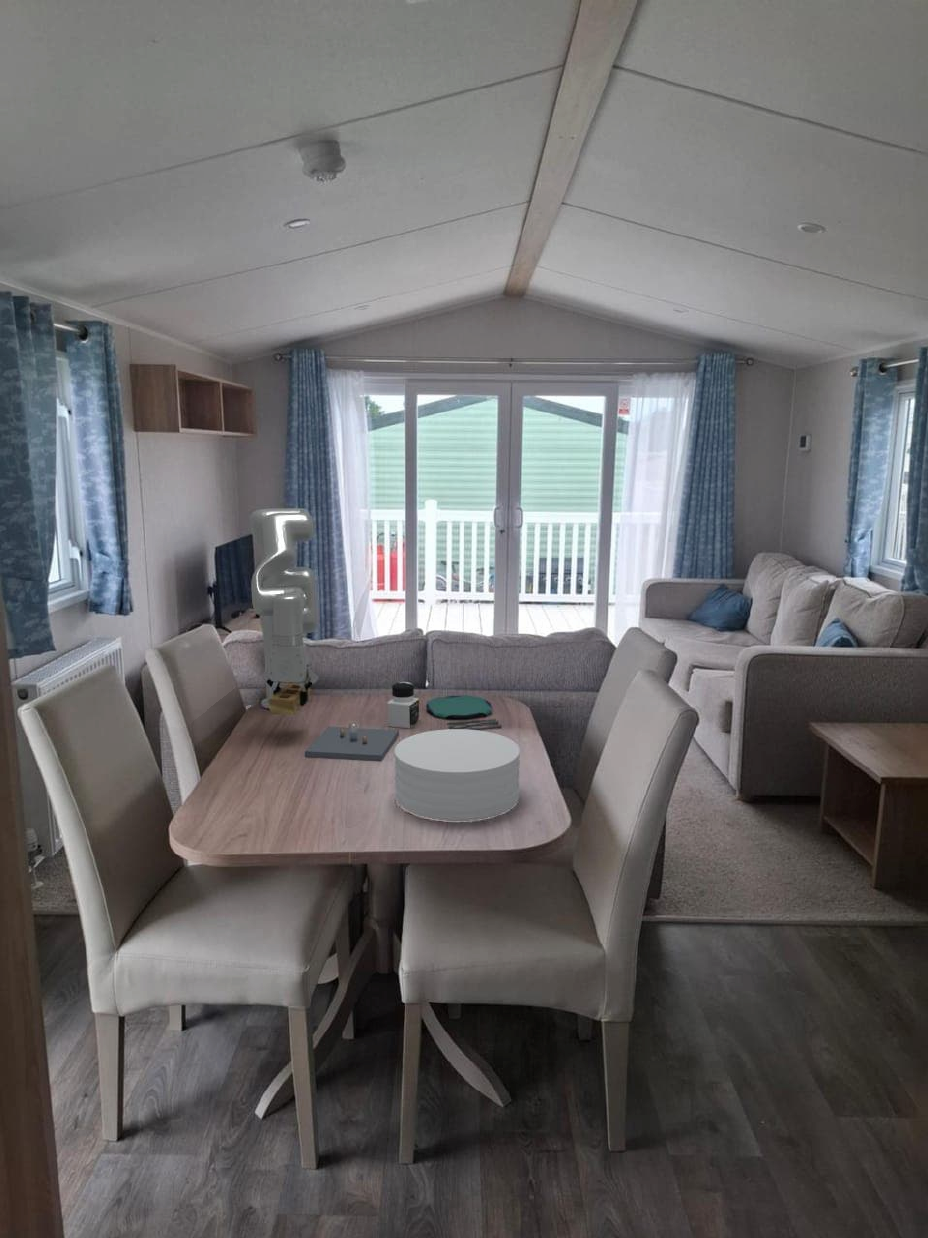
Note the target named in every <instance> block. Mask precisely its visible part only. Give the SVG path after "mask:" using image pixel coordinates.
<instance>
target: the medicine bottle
mask: <svg viewBox="0 0 928 1238" xmlns="http://www.w3.org/2000/svg"><path fill="white" fill-rule="evenodd" d="M391 690H392V692H391V693H392V694H391V699H390V700H389V701H387V702H386V723H387V724H386V725H387V727H391V728H401V729H412V728H413V727H414V726H415V725H417V723H419V721H420V699H419V698H418V697H415V696H414V693H415V692H414V685H413V683H411V682H408V681H407V682H406V681H401V682H400V681H399V682H395V683H394V684H392V686H391Z"/></svg>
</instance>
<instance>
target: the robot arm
mask: <svg viewBox="0 0 928 1238" xmlns="http://www.w3.org/2000/svg"><path fill="white" fill-rule="evenodd" d="M249 520H250V521H249V522H250V523H249V524H250V528H251V533H252V536H253V539H254V541H255V544H256V546H257V547H258V552H259V554H260V560H261V562H260V564H258V566H257V567H256V569H255V570H254V572H253V574H252V578H251V583H250V584H251V586H250V588H251V601H252V603H251V604H252V608H253V610H254V612H255V614H256V615H258V616H259V622H260V627H261V631H262V639H263V648H264V649H263V651H264V653H263V654H264V669H265V671H263V673H262V674H261V675H260V677H261V678H262V679H263V680H264V681H265V691H266V692H265V693H266V694H265V696H266V697H265V698H264V699H262V700H261V704H260V705H261V707H263V708H265V709H267V708H268V710H270V698H271V697H273V696H274V695H275V694H276V693H278V692H279V691H280V690H281V689H282V688H283V687H284V686H285V685H287V684H288V683H294V684H299V686H300V688H301V692H300V705H301V706H302V707H304V706H305V705H306V704H307V703H308V701H309V700H308V689H309V688H310V689H311V687H312V686H313V685H314V684H315V683H316V682H317V681H318V680H319V679H320V678H319V676H318V675H317V674H316V673H315V671H314V670H312V669H311V668H310V660H309V655H308V649H307V645H306V643H304V634H308V633H309V634H311V633H315V632H316V631H317V630H318V628H319V625H320V624H319V623H320V616H319V615H320V614H319V601H318V590H317V589H318V588H317V578H316V574H315V572H314V571H313V570H312V569H311V568H310V567H307V566H294V564H296V561H297V560H296V559H297V553H296V547H295V543H296V542H311V540H313V537H314V534H315V525H314V521H313V517H312V515H311V514H310V512H309V511H308V509H306V508H301V507H300V508H299V507H296V508H295V507H293V508H289V507H288V508H280V507H279V508H277V507H276V508H262V509H258V510H255V511H253V512H252V513H251V515H250V519H249ZM309 677H310V680H309V681H307V679H309Z"/></svg>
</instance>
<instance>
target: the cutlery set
mask: <svg viewBox="0 0 928 1238" xmlns="http://www.w3.org/2000/svg"><path fill="white" fill-rule="evenodd" d="M426 703H427V704H426V707H425V708H426V710H427V711H428V712H430V713H431V714H433V715H434V716H435V717H436V718H441V719H446V718H456V719H458V718H460V719H461V718H465V719H467V718H472V717H477V716H481V715H486V717H488V716H489V715H491V714H492V710H493V709H492V707H493V705H492V703H491V702H490V701H488V700H487V699H484V698H483V697H479V696H475V695H468V694H467V695H451V696H450V695H449V696H441V697H439V696H436V697H434V698H432V699H430V700H428V701H426ZM479 722H480V723H479ZM474 723H475V724H474ZM446 725H448V727H449V728H451V729H468V730H479V731H484V730H494V729H502V724H499V721H498V720H497V719H496V718H492V719H471V720H460V721H449V722H447V723H446ZM481 725H483V727H475V726H481ZM485 725H490V726H485ZM460 726H461V727H460Z"/></svg>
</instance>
